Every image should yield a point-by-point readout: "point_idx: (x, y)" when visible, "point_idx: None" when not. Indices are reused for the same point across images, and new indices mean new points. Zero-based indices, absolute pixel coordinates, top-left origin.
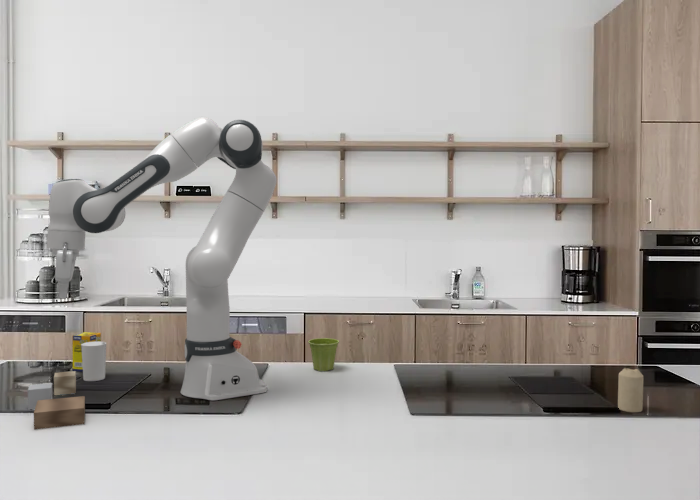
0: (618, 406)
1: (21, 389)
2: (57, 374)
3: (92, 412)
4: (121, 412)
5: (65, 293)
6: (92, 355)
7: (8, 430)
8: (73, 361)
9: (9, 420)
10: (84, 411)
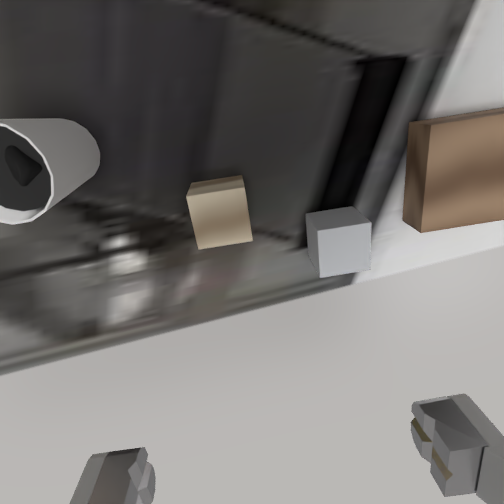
0: None
1: (173, 303)
2: (221, 238)
3: (426, 101)
4: (461, 15)
5: (492, 433)
6: (68, 165)
7: (473, 249)
8: None
9: (410, 263)
10: (498, 111)
